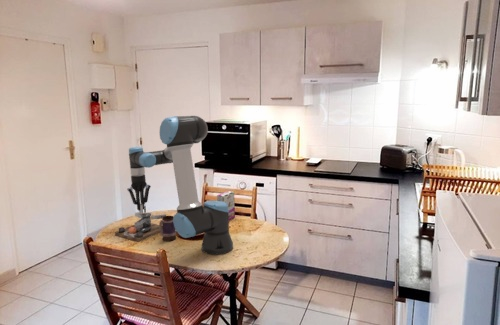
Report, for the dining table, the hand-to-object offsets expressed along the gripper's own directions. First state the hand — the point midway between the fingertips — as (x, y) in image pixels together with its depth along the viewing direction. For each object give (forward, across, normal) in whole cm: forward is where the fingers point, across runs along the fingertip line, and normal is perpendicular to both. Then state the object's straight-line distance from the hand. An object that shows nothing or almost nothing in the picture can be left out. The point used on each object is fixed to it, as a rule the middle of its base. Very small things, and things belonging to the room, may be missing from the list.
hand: (141, 215), depth 199 cm
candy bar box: (+8, -44, +21) cm, 49 cm away
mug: (+7, -2, +27) cm, 28 cm away
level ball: (+5, +10, +12) cm, 16 cm away
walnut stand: (+7, +4, +7) cm, 11 cm away
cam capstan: (+5, +1, +6) cm, 8 cm away
